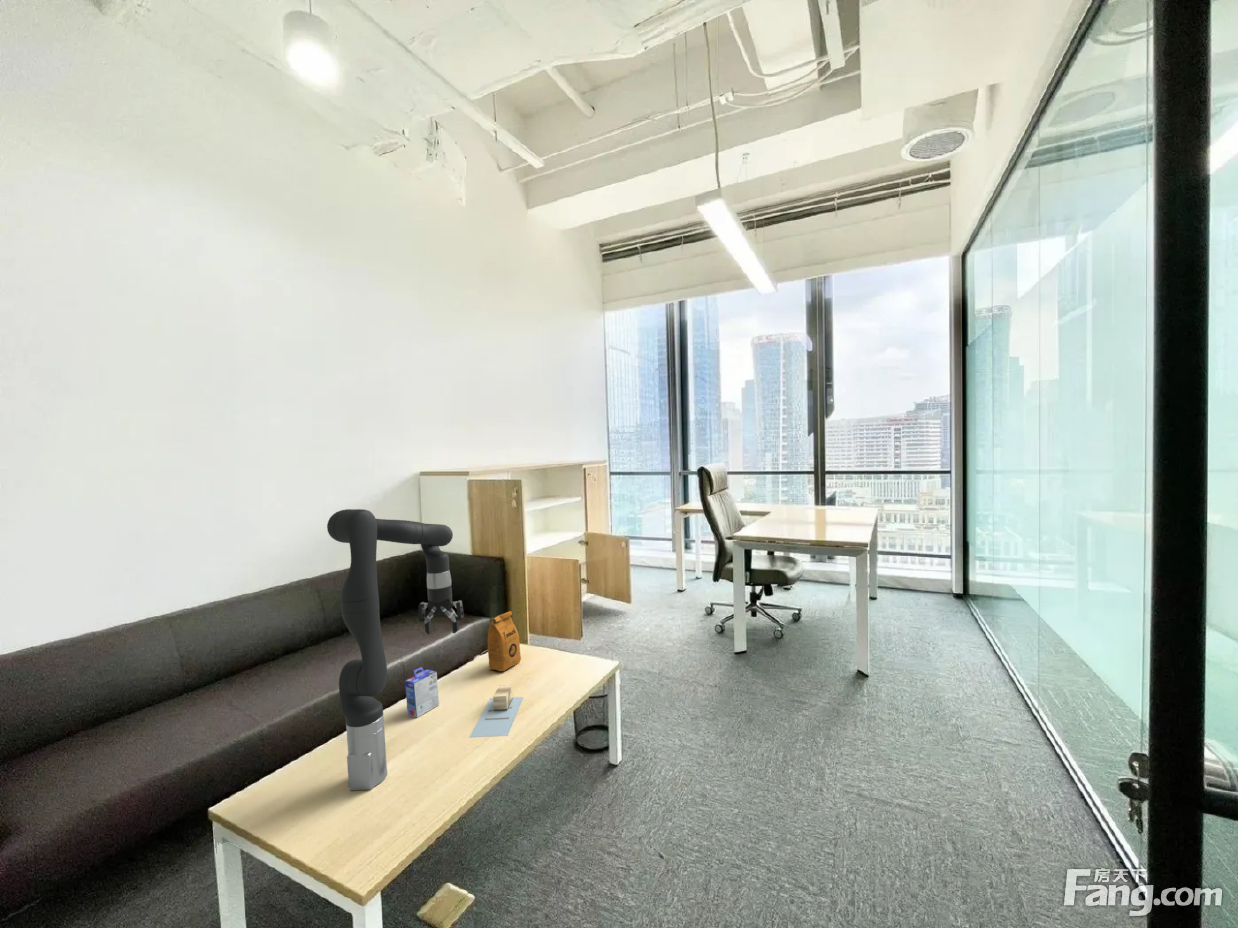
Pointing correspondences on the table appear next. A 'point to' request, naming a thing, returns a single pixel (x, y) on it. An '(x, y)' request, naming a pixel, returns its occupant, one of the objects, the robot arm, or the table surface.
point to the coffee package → (503, 643)
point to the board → (496, 720)
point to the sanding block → (502, 698)
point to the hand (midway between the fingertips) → (442, 632)
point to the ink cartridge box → (421, 692)
